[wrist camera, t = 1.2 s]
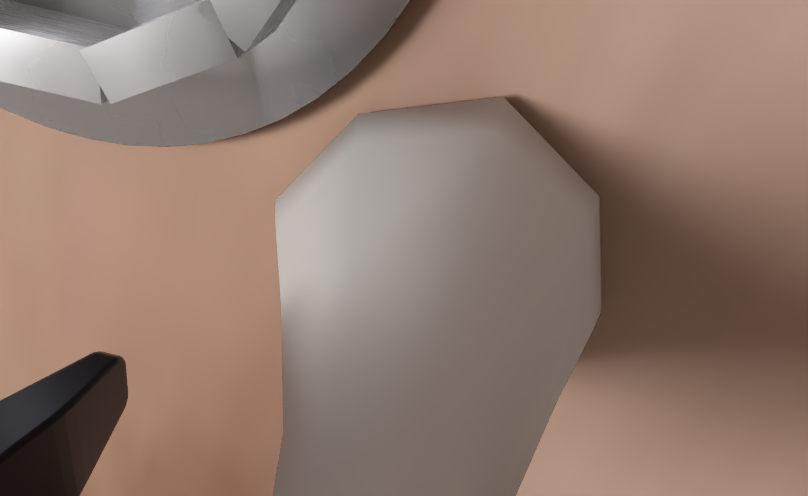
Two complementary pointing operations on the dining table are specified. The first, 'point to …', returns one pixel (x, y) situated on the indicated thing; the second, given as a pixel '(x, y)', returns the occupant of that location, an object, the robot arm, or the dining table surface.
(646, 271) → the dining table surface
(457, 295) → the flask
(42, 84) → the duct flange
